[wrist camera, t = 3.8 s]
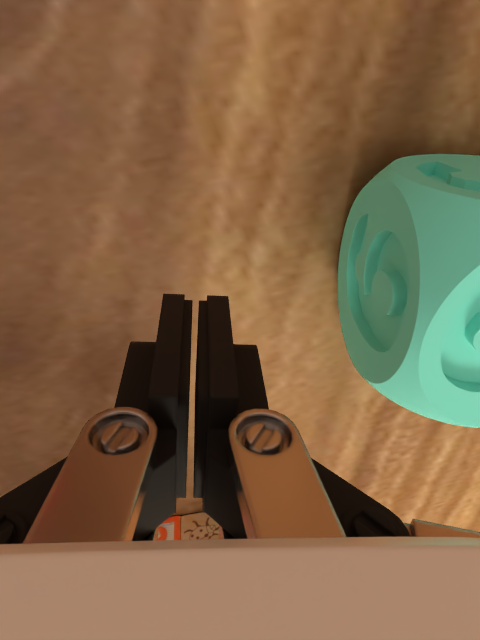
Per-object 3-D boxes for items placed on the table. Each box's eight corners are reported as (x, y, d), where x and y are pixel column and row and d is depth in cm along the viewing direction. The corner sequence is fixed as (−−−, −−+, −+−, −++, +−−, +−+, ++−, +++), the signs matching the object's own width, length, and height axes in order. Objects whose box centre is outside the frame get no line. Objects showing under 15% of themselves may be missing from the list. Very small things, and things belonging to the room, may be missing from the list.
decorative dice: (477, 315, 23) (596, 427, 16) (327, 318, 22) (387, 437, 16) (536, 154, 19) (729, 214, 12) (354, 150, 18) (453, 212, 11)
